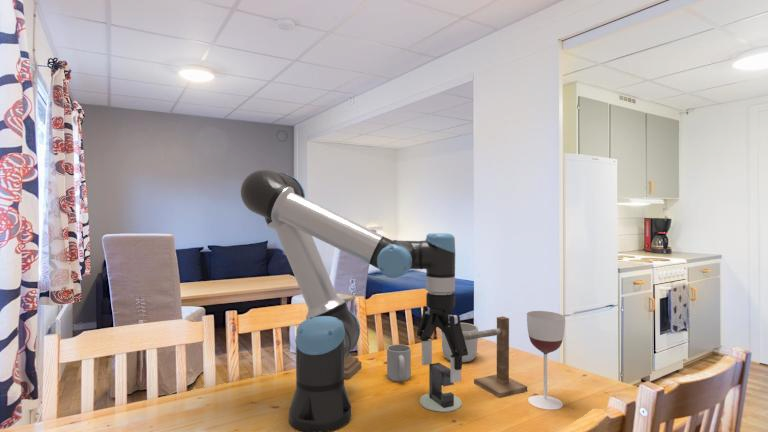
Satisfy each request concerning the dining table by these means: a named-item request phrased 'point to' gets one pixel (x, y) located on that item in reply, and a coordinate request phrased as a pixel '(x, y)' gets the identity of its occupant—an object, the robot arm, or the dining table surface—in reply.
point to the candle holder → (349, 362)
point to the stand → (498, 362)
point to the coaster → (434, 406)
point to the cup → (399, 362)
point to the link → (440, 385)
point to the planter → (470, 344)
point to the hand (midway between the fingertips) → (440, 372)
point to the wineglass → (545, 347)
